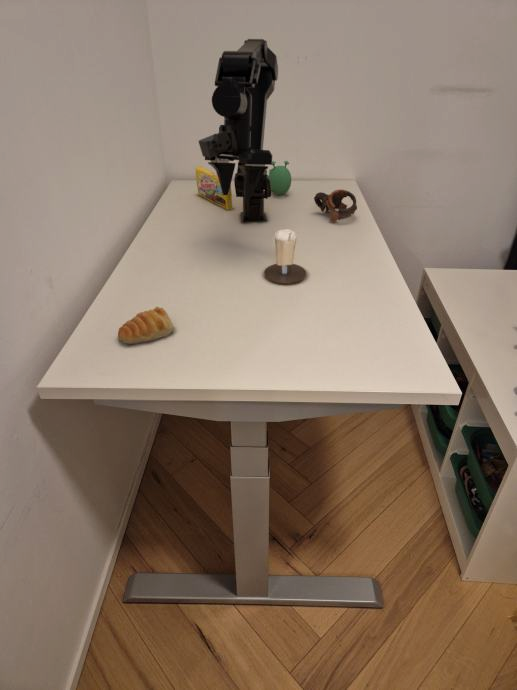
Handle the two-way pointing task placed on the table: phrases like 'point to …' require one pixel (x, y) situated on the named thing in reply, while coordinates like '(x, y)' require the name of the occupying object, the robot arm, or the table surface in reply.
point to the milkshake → (285, 250)
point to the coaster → (285, 275)
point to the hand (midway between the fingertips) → (236, 197)
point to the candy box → (212, 188)
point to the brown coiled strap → (336, 204)
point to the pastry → (146, 326)
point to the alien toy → (280, 179)
